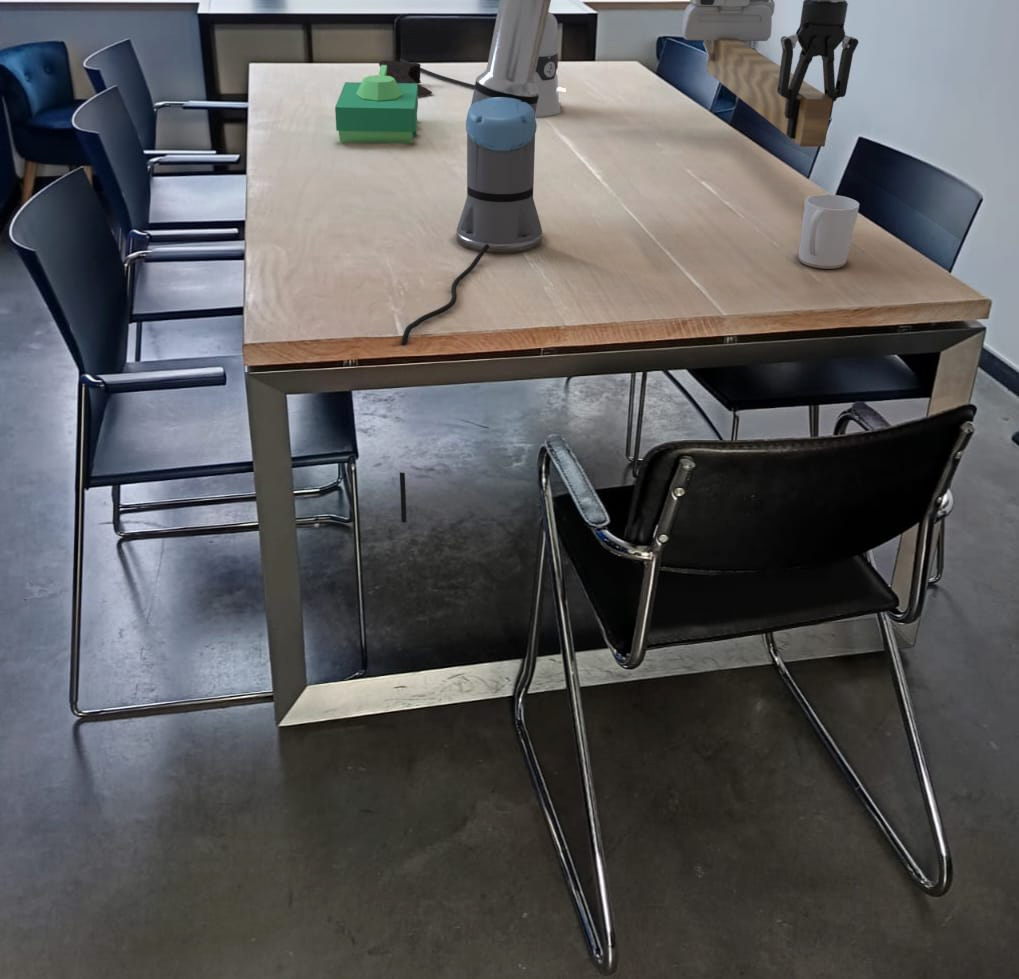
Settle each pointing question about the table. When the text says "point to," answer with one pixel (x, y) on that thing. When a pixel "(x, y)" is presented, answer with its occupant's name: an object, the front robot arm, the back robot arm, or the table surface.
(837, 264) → the mug
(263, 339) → the table surface
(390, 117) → the green tank
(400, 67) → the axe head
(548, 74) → the back robot arm
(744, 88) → the beam
